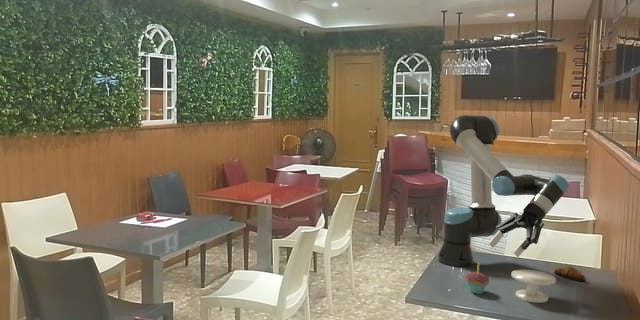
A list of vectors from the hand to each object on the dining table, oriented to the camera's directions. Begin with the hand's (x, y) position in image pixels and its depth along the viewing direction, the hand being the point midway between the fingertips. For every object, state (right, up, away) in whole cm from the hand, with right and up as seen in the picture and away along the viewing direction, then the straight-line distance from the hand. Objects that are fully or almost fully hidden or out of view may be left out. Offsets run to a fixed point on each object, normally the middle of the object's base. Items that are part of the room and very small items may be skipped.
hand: (502, 249), depth 204 cm
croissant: (+34, -15, +21) cm, 43 cm away
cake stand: (+8, -16, -6) cm, 19 cm away
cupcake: (-11, -15, -2) cm, 19 cm away
